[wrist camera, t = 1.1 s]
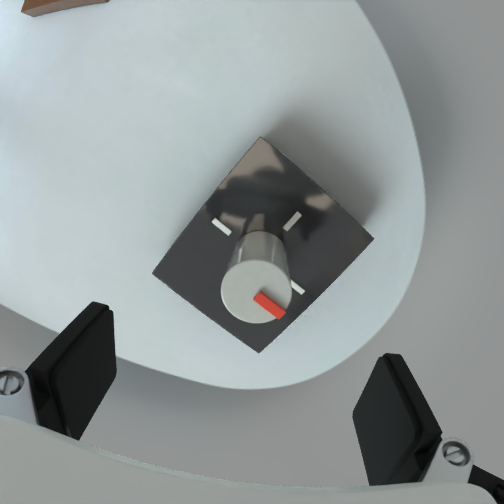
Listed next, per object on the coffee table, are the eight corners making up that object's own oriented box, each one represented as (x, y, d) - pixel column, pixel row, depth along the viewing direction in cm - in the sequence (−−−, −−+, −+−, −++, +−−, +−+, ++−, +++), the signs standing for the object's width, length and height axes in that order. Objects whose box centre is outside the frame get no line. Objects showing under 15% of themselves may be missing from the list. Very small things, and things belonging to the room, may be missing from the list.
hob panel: (261, 137, 22) (260, 136, 19) (362, 227, 23) (375, 239, 20) (164, 259, 25) (150, 274, 22) (260, 333, 27) (258, 354, 24)
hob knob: (221, 259, 22) (205, 298, 16) (256, 219, 21) (251, 246, 15) (262, 292, 22) (260, 338, 17) (298, 254, 21) (307, 292, 16)
